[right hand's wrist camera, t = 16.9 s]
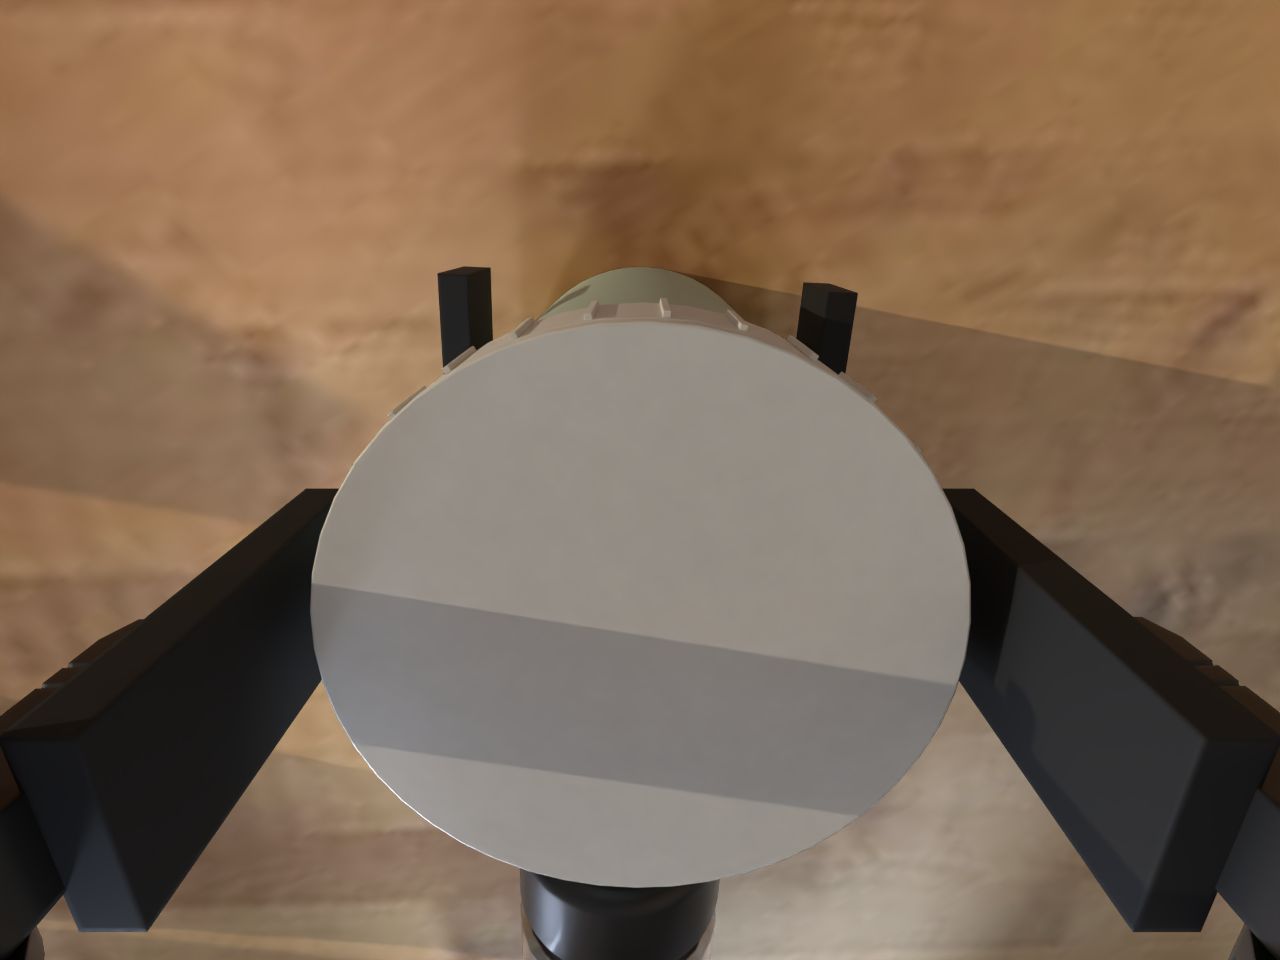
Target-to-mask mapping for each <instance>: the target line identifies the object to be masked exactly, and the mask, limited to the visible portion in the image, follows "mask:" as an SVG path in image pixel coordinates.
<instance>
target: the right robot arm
mask: <svg viewBox="0 0 1280 960" xmlns="http://www.w3.org/2000/svg"><path fill="white" fill-rule="evenodd" d="M338 490H339V489H305V490H304V491H303V492H301V493H300V494H299V495H298V496H296V497H295V498H294V499H293V500H291V501H290V502H289V503H288V504H286V505H285V506H284V507H283V508H281V509H280V510H279V511H278V512H276V513H275V514H274V515H273V516H272V517H270V518H269V519H268V520H267V521H265V522H264V523H263V524H262V525H260V526H259V527H258V528H257V529H255V530H254V531H253V532H252V533H250V534H249V535H248V536H247V537H245V538H244V539H243V540H242V541H240V542H239V543H238V544H237V545H235V546H234V547H233V548H232V549H231V550H229V551H228V552H227V553H226V554H224V555H223V556H222V557H221V558H219V559H218V560H217V561H216V562H214V563H213V564H212V565H211V566H209V567H208V568H207V569H206V570H204V571H203V572H202V573H201V574H199V575H198V576H197V577H196V578H194V579H193V580H192V581H191V582H190V583H188V584H187V585H186V586H185V587H183V588H182V589H181V590H180V591H178V592H177V593H176V594H175V595H173V596H172V597H171V598H170V599H168V600H167V601H166V602H165V603H163V604H162V605H161V606H160V607H158V608H157V609H156V610H155V611H153V612H152V613H151V614H150V615H149V616H147V617H146V618H145V619H139V620H137V621H135V622H133V623H131V624H129V625H127V626H125V627H123V628H121V629H119V630H117V631H115V632H113V633H111V634H109V635H107V636H105V637H103V638H101V639H99V640H98V641H97V642H95V643H94V644H93V645H91V646H90V647H89V648H88V649H86V650H85V651H84V652H82V653H81V654H80V655H79V656H77V657H76V658H75V659H73V660H72V661H71V662H70V663H68V664H69V666H68V668H62V669H61V670H59V671H58V672H57V673H55V674H54V675H53V676H52V677H50V678H49V679H48V680H46V681H45V682H44V683H43V686H42V688H41V689H35V690H33V691H32V692H31V693H30V694H28V695H27V696H26V697H24V698H23V699H22V700H21V701H19V702H18V703H17V704H15V705H14V706H13V707H12V708H10V709H9V710H8V711H6V712H5V713H4V714H3V715H1V716H0V960H44V957H45V952H44V946H43V940H42V937H41V935H40V933H39V930H38V928H37V925H38V923H39V922H40V921H41V920H42V919H43V918H44V916H45V915H46V914H47V913H48V912H49V911H50V909H51V908H52V907H53V906H54V905H55V904H56V902H57V901H58V900H59V899H60V898H61V897H62V895H64V897H65V899H66V902H67V904H68V906H69V909H70V911H71V913H72V916H73V918H74V920H75V923H76V925H77V927H78V930H79V932H147V931H148V930H149V928H150V927H151V926H152V924H153V923H154V921H155V920H156V918H157V917H158V915H159V914H160V913H161V911H162V910H163V908H164V907H165V905H166V904H167V902H168V901H169V900H170V898H171V897H172V895H173V894H174V892H175V891H176V889H177V888H178V887H179V885H180V884H181V882H182V881H183V879H184V878H185V876H186V875H187V874H188V872H189V871H190V869H191V868H192V866H193V865H194V863H195V862H196V861H197V859H198V858H199V856H200V855H201V853H202V852H203V850H204V849H205V848H206V846H207V845H208V843H209V842H210V840H211V839H212V837H213V836H214V835H215V833H216V832H217V830H218V829H219V827H220V826H221V824H222V823H223V822H224V820H225V819H226V817H227V816H228V814H229V813H230V811H231V810H232V809H233V807H234V806H235V804H236V803H237V801H238V800H239V798H240V797H241V796H242V794H243V793H244V791H245V790H246V788H247V787H248V785H249V784H250V783H251V781H252V780H253V778H254V777H255V775H256V774H257V772H258V771H259V770H260V768H261V767H262V765H263V764H264V762H265V761H266V759H267V758H268V757H269V755H270V754H271V752H272V751H273V749H274V748H275V746H276V745H277V744H278V742H279V741H280V739H281V738H282V736H283V735H284V733H285V732H286V731H287V729H288V728H289V726H290V725H291V723H292V722H293V720H294V719H295V718H296V716H297V715H298V713H299V712H300V710H301V709H302V707H303V706H304V705H305V703H306V702H307V700H308V699H309V697H310V696H311V694H312V693H313V692H314V690H315V689H316V687H317V686H318V684H319V683H320V681H321V680H322V678H321V674H320V670H319V666H318V662H317V658H316V655H315V651H314V644H313V635H312V625H311V616H310V604H311V584H312V571H313V566H314V561H315V556H316V552H317V547H318V542H319V537H320V534H321V531H322V528H323V526H324V523H325V520H326V518H327V515H328V513H329V510H330V507H331V505H332V502H333V500H334V497H335V495H336V494H337V492H338ZM943 491H944V493H945V495H946V497H947V499H948V501H949V503H950V505H951V507H952V510H953V513H954V516H955V519H956V522H957V525H958V528H959V531H960V534H961V537H962V540H963V543H964V546H965V552H966V558H967V564H968V570H969V576H970V582H971V625H970V631H969V638H968V645H967V652H966V658H965V662H964V665H963V668H962V672H961V675H960V678H959V681H960V683H961V684H962V686H963V687H964V689H965V690H966V692H967V693H968V694H969V696H970V697H971V699H972V700H973V702H974V703H975V705H976V706H977V707H978V709H979V710H980V712H981V713H982V715H983V716H984V718H985V719H986V720H987V722H988V723H989V725H990V726H991V728H992V729H993V731H994V732H995V733H996V735H997V736H998V738H999V739H1000V741H1001V742H1002V744H1003V745H1004V746H1005V748H1006V749H1007V751H1008V752H1009V754H1010V755H1011V757H1012V758H1013V759H1014V761H1015V762H1016V764H1017V765H1018V767H1019V768H1020V770H1021V771H1022V772H1023V774H1024V775H1025V777H1026V778H1027V780H1028V781H1029V783H1030V784H1031V785H1032V787H1033V788H1034V790H1035V791H1036V793H1037V794H1038V796H1039V797H1040V798H1041V800H1042V801H1043V803H1044V804H1045V806H1046V807H1047V809H1048V810H1049V811H1050V813H1051V814H1052V816H1053V817H1054V819H1055V820H1056V822H1057V823H1058V824H1059V826H1060V827H1061V829H1062V830H1063V832H1064V833H1065V835H1066V836H1067V837H1068V839H1069V840H1070V842H1071V843H1072V845H1073V846H1074V848H1075V849H1076V850H1077V852H1078V853H1079V855H1080V856H1081V858H1082V859H1083V861H1084V862H1085V863H1086V865H1087V866H1088V868H1089V869H1090V871H1091V872H1092V874H1093V875H1094V876H1095V878H1096V879H1097V881H1098V882H1099V884H1100V885H1101V887H1102V888H1103V889H1104V891H1105V892H1106V894H1107V895H1108V897H1109V898H1110V900H1111V901H1112V902H1113V904H1114V905H1115V907H1116V908H1117V910H1118V911H1119V913H1120V914H1121V915H1122V917H1123V918H1124V920H1125V921H1126V923H1127V924H1128V926H1129V927H1130V928H1131V930H1132V931H1133V932H1201V930H1202V927H1203V925H1204V923H1205V920H1206V918H1207V916H1208V913H1209V911H1210V909H1211V906H1212V904H1213V901H1214V899H1215V897H1216V894H1217V892H1218V893H1219V894H1220V895H1221V896H1222V897H1223V898H1224V900H1225V901H1226V902H1227V903H1228V904H1229V905H1230V907H1231V908H1232V909H1233V910H1234V911H1235V912H1236V914H1237V915H1238V916H1239V917H1240V918H1241V919H1242V921H1243V922H1244V923H1245V924H1244V926H1243V928H1242V930H1241V933H1240V935H1239V937H1238V939H1237V941H1236V944H1235V946H1234V948H1233V950H1232V952H1231V955H1230V957H1229V959H1228V960H1280V712H1278V711H1277V710H1276V709H1274V708H1273V707H1272V706H1271V705H1269V704H1268V703H1267V702H1265V701H1264V700H1263V699H1261V698H1260V697H1259V696H1258V695H1256V694H1255V693H1254V692H1252V691H1251V690H1250V689H1248V688H1247V687H1246V686H1239V683H1238V680H1237V679H1235V678H1234V677H1233V676H1232V675H1230V674H1229V673H1228V672H1226V671H1225V670H1224V669H1222V668H1221V667H1220V666H1214V665H1213V663H1212V660H1211V659H1210V658H1208V657H1207V656H1206V655H1204V654H1203V653H1202V652H1200V651H1199V650H1198V649H1197V648H1195V647H1194V646H1193V645H1191V644H1190V643H1189V642H1187V641H1186V640H1185V639H1184V638H1182V637H1181V636H1179V635H1177V634H1175V633H1173V632H1171V631H1169V630H1167V629H1165V628H1163V627H1161V626H1159V625H1157V624H1155V623H1153V622H1151V621H1149V620H1147V619H1145V618H1143V617H1133V616H1131V615H1130V614H1129V613H1128V612H1126V611H1125V610H1124V609H1123V608H1122V607H1120V606H1119V605H1118V604H1117V603H1115V602H1114V601H1113V600H1112V599H1110V598H1109V597H1108V596H1107V595H1105V594H1104V593H1103V592H1102V591H1100V590H1099V589H1098V588H1097V587H1095V586H1094V585H1093V584H1092V583H1090V582H1089V581H1088V580H1087V579H1085V578H1084V577H1083V576H1082V575H1081V574H1079V573H1078V572H1077V571H1076V570H1074V569H1073V568H1072V567H1071V566H1069V565H1068V564H1067V563H1066V562H1064V561H1063V560H1062V559H1061V558H1059V557H1058V556H1057V555H1056V554H1054V553H1053V552H1052V551H1051V550H1049V549H1048V548H1047V547H1046V546H1044V545H1043V544H1042V543H1041V542H1040V541H1038V540H1037V539H1036V538H1035V537H1033V536H1032V535H1031V534H1030V533H1028V532H1027V531H1026V530H1025V529H1023V528H1022V527H1021V526H1020V525H1018V524H1017V523H1016V522H1015V521H1013V520H1012V519H1011V518H1010V517H1008V516H1007V515H1006V514H1005V513H1003V512H1002V511H1001V510H1000V509H999V508H997V507H996V506H995V505H994V504H992V503H991V502H990V501H989V500H987V499H986V498H985V497H984V496H982V495H981V494H980V493H979V492H977V491H976V490H975V489H943Z"/></svg>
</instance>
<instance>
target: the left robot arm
mask: <svg viewBox="0 0 1280 960" xmlns="http://www.w3.org/2000/svg"><path fill="white" fill-rule="evenodd" d="M438 290H439V306H440V323H441V340H442V357H443V368H444V367H445V366H446V365H448V364H449V363H450V362H452V361H453V360H454V359H456V358H457V357H458V356H460V355H461V354H462V353H464V352H465V351H466V350H468V349H469V348H471V347H472V346H474V347H475V349H476V351H477V350H478V349H480V348H481V347H483V346H484V345H486V344H487V343H489V342H491V341H493V330H492V300H491V269H490V268H485V267H460V268H457V269H453V270H449V271H445V272H441V273H438ZM857 295H858V293H856V292H853V291H850V290H847V289H844V288H841V287H838V286H835V285H832V284H826V283H805V282H804V283H803V291H802V298H801V306H800V314H799V322H798V330H797V338H796V339H797V340H799V341H800V342H801V343H803V344H804V345H805V346H807V347H808V348H809V349H811V350H812V351H813V352H814V353H816V354H817V355H818V356H819V357H818V359H817V360H819V361H820V362H822V363H823V364H824V365H826V366H827V367H828V368H830V369H831V370H832V371H834V372H835V373H836V374H838V375H839V374H840V373H841V372H843V373H845V372H846V366H847V359H848V353H849V346H850V340H851V333H852V327H853V321H854V314H855V308H856V301H857ZM719 880H720V879H718V880H713V881H709V882H702V883H694V884H686V885H679V886H668V887H639V888H634V887H617V886H600V885H593V884H587V883H581V882H574V881H568V880H562V879H558V878H554V877H550V876H547V875H543V874H539V873H535V872H531V871H527V870H525V869H522V868H520V886H521V898H522V901H521V927H522V953H523V960H710V955H711V947H712V940H713V933H714V926H715V907H716V903H717V897H718V889H719Z"/></svg>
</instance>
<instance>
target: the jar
mask: <svg viewBox="0 0 1280 960" xmlns="http://www.w3.org/2000/svg"><path fill="white" fill-rule="evenodd" d="M660 298H667V300H668V303H669V304H672V305H683V306H691V307H695V308H700V309H704V310H709V311H713V312H718V313H722V314H726V312H727V310H732V311H734V310H733V309H732V308H731V307H730V306H729V305H728V304H727V303H726V302H725V301H724V300H723V299H722V298H721V297H720V296H718V295H717V294H716V293H714V292H713V291H712V290H710V289H709V288H708V287H707V286H705V285H703V284H701V283H699V282H698V281H696V280H694V279H692V278H690V277H687V276H685V275H682V274H679V273H677V272H673V271H669V270H665V269H660V268H650V267H628V268H622V269H616V270H611V271H608V272H605V273H601V274H598V275H595V276H593V277H591V278H589V279H587V280H585V281H583V282H581V283H579V284H578V285H576V286H575V287H573V288H572V289H570V290H569V291H567V292H566V293H565V294H564V295H562V296H561V297H560V298H559V299H558V300H557V301H556V302H555V303H553V304H552V305H551V306H550V307H549V308H548V309H547V310H546V311H545V312H544V313H543V314H542V315H541V316H540V317H539V318H538V319H537V320H536V321H538V320H541V319H544V318H547V317H550V316H553V315H556V314H559V313H562V312H566V311H572V310H577V309H582V308H588V306H589V305H590V303H591V301H595V300H598V301H599V305H604V304H623V303H643V302H648V303H660ZM734 312H735V311H734ZM735 313H736V312H735ZM736 314H737V313H736ZM737 315H738V316H739V317H740V318H741V319H742V320H744V319H743V318H742V317H741V316H740V315H739V314H737ZM744 321H745V320H744Z"/></svg>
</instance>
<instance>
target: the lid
mask: <svg viewBox="0 0 1280 960" xmlns="http://www.w3.org/2000/svg"><path fill="white" fill-rule="evenodd" d="M818 357H819V356H818V355H817V354H816V353H814V352H813V351H812V350H811V349H809V348H808V347H807V346H805V345H804V344H803V343H801V342H800V341H799V340H797V339H796V338H795V337H793V336H791V335H789V336H788V338H787V339H784V338H782V337H780V336H779V335H777V334H775V333H773V332H771V331H769V330H767V329H765V328H762V327H760V326H757V325H754V324H752V323H749V322H746V321H744V320H742V319H741V318H740V317H739V316H738V315H737V314H736V313H735V312H734V311H732V310H727V312H726V314H722V313H718V312H713V311H709V310H704V309H700V308H695V307H691V306H683V305H672V304H669V303H668V300H667V298H660V303H648V302H643V303H623V304H604V305H599V301H598V300H595V301H591V303H590V305H589V306H588V308H582V309H577V310H572V311H566V312H562V313H559V314H556V315H553V316H550V317H547V318H544V319H541V320H538V321H535V322H534V319H533V317H529V318H527V319H525V320H524V321H523V322H522V323H521V324H520V325H518V326H517V327H516V328H515V329H514V330H513V331H511V332H509V333H507V334H505V335H503V336H501V337H499V338H497V339H495V340H493V341H491V342H489V343H487V344H486V345H484V346H483V347H481V348H480V349H478V350H477V351H476V349H475V347H474V346H472V347H471V348H469V349H468V350H466V351H465V352H464V353H462V354H461V355H460V356H458V357H457V358H456V359H454V360H453V361H452V362H450V363H449V364H448V365H446V366H445V367H444V368H442V371H443V373H444V375H442V376H441V377H440V378H438V379H437V380H436V381H435V382H433V383H432V384H431V385H429V386H428V387H427V388H426V387H425V386H424V387H423V388H421V389H420V390H419V391H417V392H416V393H415V394H413V395H412V396H411V397H410V398H408V399H407V400H406V401H404V402H403V403H402V404H400V405H399V406H398V407H397V408H395V409H394V410H393V411H391V412H390V414H389V415H388V417H389V418H390V419H391V420H389V421H388V422H387V423H386V424H385V425H384V426H383V427H382V428H381V429H380V431H379V432H378V433H377V434H376V436H375V437H374V438H373V439H372V441H371V442H370V443H369V444H368V446H367V447H366V448H365V449H364V451H363V452H362V453H361V454H360V456H359V457H358V458H357V459H356V461H355V462H354V464H352V465H351V467H350V469H349V473H348V474H347V476H346V478H345V480H344V481H343V483H342V485H341V487H340V488H339V490H338V492H337V494H336V495H335V497H334V500H333V502H332V505H331V507H330V510H329V513H328V515H327V518H326V520H325V523H324V526H323V528H322V531H321V534H320V537H319V542H318V547H317V552H316V556H315V561H314V566H313V571H312V584H311V604H310V616H311V625H312V635H313V644H314V651H315V655H316V658H317V662H318V666H319V670H320V674H321V678H322V681H323V685H324V687H325V689H326V692H327V694H328V697H329V699H330V701H331V704H332V706H333V708H334V711H335V713H336V716H337V718H338V719H339V721H340V723H341V724H342V726H343V728H344V730H345V731H346V733H347V735H348V736H349V738H350V740H351V741H352V743H353V745H354V746H355V748H356V749H357V751H358V752H359V753H360V754H361V756H362V757H363V758H364V760H365V761H366V762H367V763H368V765H369V766H370V767H371V768H372V770H373V771H374V772H375V774H376V775H377V776H378V777H379V778H380V779H381V780H382V781H383V782H384V783H385V784H386V785H387V786H388V787H389V788H390V789H391V790H392V791H393V792H394V793H395V794H396V795H397V796H398V797H399V798H400V799H401V800H402V801H403V802H404V803H406V804H407V805H408V806H409V807H411V808H412V809H413V810H414V811H416V812H417V813H418V814H420V815H421V816H422V817H423V818H425V819H426V820H427V821H428V822H430V823H431V824H432V825H434V826H436V827H437V828H439V829H441V830H442V831H444V832H445V833H447V834H449V835H450V836H452V837H453V838H455V839H457V840H458V841H460V842H461V843H463V844H465V845H468V846H470V847H472V848H474V849H476V850H478V851H480V852H482V853H484V854H486V855H488V856H490V857H492V858H494V859H497V860H500V861H503V862H505V863H508V864H511V865H514V866H516V867H519V868H522V869H525V870H527V871H531V872H535V873H539V874H543V875H547V876H550V877H554V878H558V879H562V880H568V881H574V882H581V883H587V884H593V885H600V886H617V887H634V888H639V887H668V886H679V885H686V884H694V883H702V882H709V881H713V880H718V879H722V878H726V877H731V876H735V875H740V874H744V873H747V872H750V871H753V870H756V869H759V868H762V867H765V866H768V865H771V864H774V863H777V862H779V861H782V860H784V859H786V858H788V857H790V856H793V855H795V854H797V853H799V852H802V851H804V850H806V849H808V848H810V847H812V846H814V845H816V844H817V843H819V842H821V841H823V840H824V839H826V838H828V837H829V836H831V835H833V834H835V833H836V832H838V831H840V830H841V829H843V828H844V827H846V826H847V825H848V824H850V823H851V822H852V821H854V820H855V819H857V818H858V817H859V816H861V815H862V814H863V813H865V812H866V811H867V810H869V809H870V808H871V807H872V806H873V805H875V804H876V803H877V802H878V801H879V800H880V799H881V798H882V797H883V796H884V795H885V794H886V793H887V792H888V791H890V790H891V789H892V788H893V787H894V786H895V785H896V784H897V783H898V782H899V781H900V779H901V778H902V777H903V776H904V775H905V774H906V772H907V771H908V770H909V769H910V768H911V766H912V765H913V764H914V763H915V762H916V760H917V759H918V758H919V757H920V756H921V754H922V752H923V751H924V749H925V748H926V746H927V745H928V743H929V742H930V740H931V738H932V737H933V735H934V734H935V732H936V731H937V729H938V728H939V726H940V724H941V722H942V720H943V718H944V715H945V713H946V711H947V709H948V707H949V705H950V703H951V700H952V698H953V696H954V694H955V691H956V688H957V685H958V681H959V678H960V675H961V672H962V668H963V665H964V662H965V658H966V652H967V645H968V638H969V631H970V625H971V582H970V576H969V570H968V564H967V558H966V552H965V546H964V543H963V540H962V537H961V534H960V531H959V528H958V525H957V522H956V519H955V516H954V513H953V510H952V507H951V505H950V503H949V501H948V499H947V497H946V495H945V493H944V491H943V489H942V488H941V486H940V484H939V482H938V480H937V478H936V476H935V474H934V472H933V470H932V469H931V468H930V466H929V465H928V463H927V462H926V461H925V459H924V458H923V457H922V455H921V454H920V453H921V452H922V451H921V449H920V448H919V446H917V445H916V444H915V443H914V442H912V441H911V440H910V439H909V438H908V436H907V435H906V434H905V433H904V432H903V431H902V430H901V429H900V428H899V427H898V426H897V425H896V424H895V423H894V422H893V421H892V420H891V419H890V418H889V417H888V416H887V415H886V414H885V413H884V412H883V411H882V410H881V409H880V408H879V407H878V406H877V405H876V404H875V402H876V401H877V400H878V399H877V398H876V397H875V396H874V395H873V394H871V393H870V392H869V391H867V390H866V389H865V388H863V387H862V386H861V385H859V384H858V383H857V382H855V381H854V380H853V379H851V378H850V377H849V376H847V375H846V374H845V373H843V372H841V373H840V374H839V375H838V374H836V373H835V372H834V371H832V370H831V369H830V368H828V367H827V366H826V365H824V364H823V363H822V362H820V361H819V360H817V359H818Z"/></svg>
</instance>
